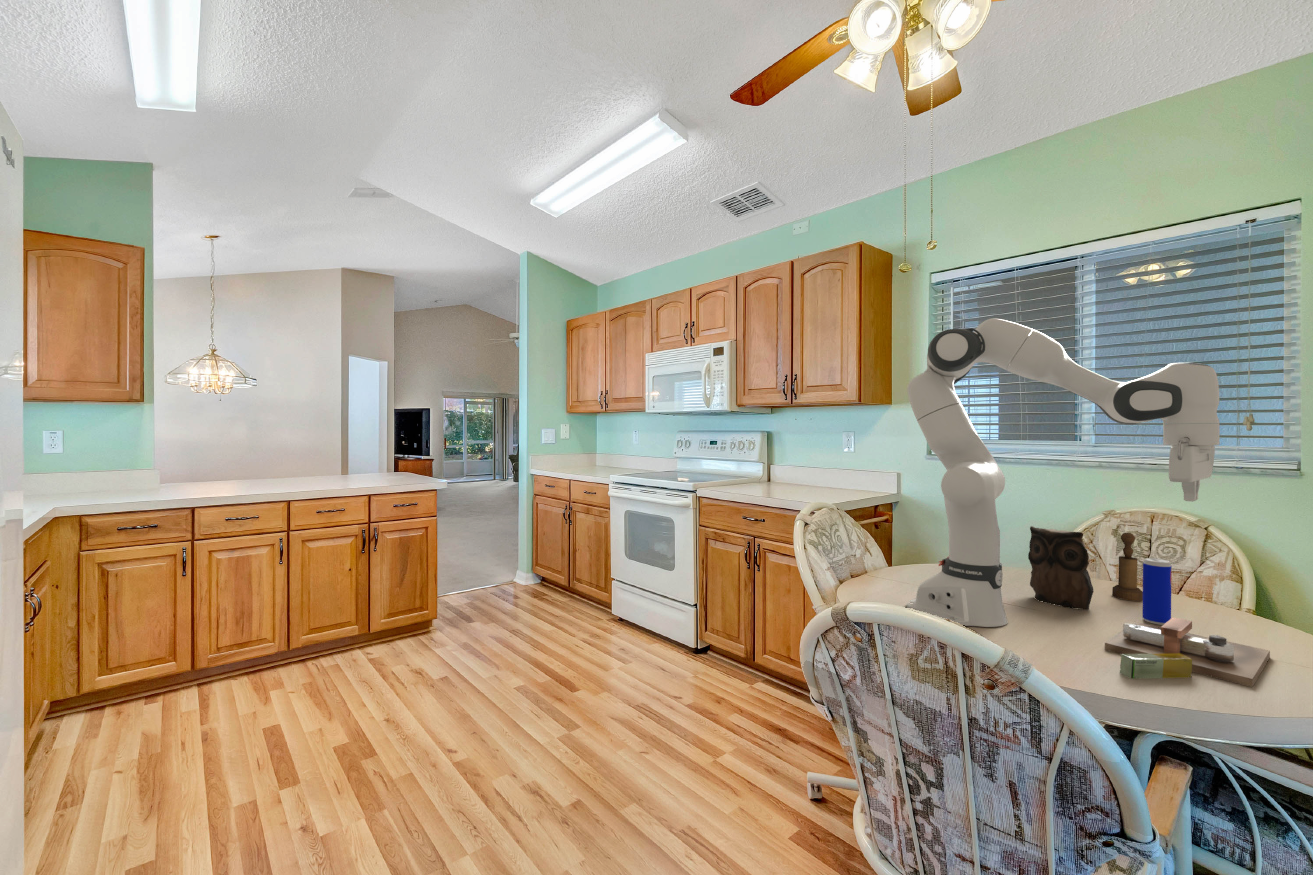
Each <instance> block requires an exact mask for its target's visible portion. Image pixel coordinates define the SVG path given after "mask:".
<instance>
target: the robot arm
mask: <svg viewBox="0 0 1313 875" xmlns="http://www.w3.org/2000/svg"><path fill="white" fill-rule="evenodd" d="M978 363H987V364H991V365H995V366H997V367H998V368H1001V369H1003V370H1005V371H1006V372H1009V373H1010V374H1011V373H1012V374H1014V375H1017V376H1018V377H1019V376H1020V377H1023V378H1026V379H1029V380H1033V381H1037V382H1041V383H1045V384H1050V385H1053V386H1057V387H1059V388H1062V389H1064V390H1066V391H1068V392H1070V393H1073V394H1075V395H1077V396H1079V397H1081V398H1084V399H1085V400H1087V401H1089V402H1091V403H1092V404H1095V405H1096V406H1097V407H1098V408H1099V409H1100V410H1101V411H1102V412H1103V414H1104V415H1105V416H1107V417H1108V419H1109V420H1111V421H1113V422H1115V423H1118V424H1121V425H1127V426H1131V425H1137V424H1142V423H1147V422H1152V421H1154V420H1157V419H1159V420H1162V422H1163V423H1162V424H1163V425H1162V427H1163V428H1162V429H1163V430H1162V431H1163V438H1162V440H1163V442H1162V443H1163V445H1164V446H1170V450H1169V454H1168V456H1169V457H1168V460H1169V461H1168V479H1169V481H1170V483H1171V482H1173V483H1181V488H1182V491H1183V501H1185V502H1195V501H1198V500H1199V490H1200V488H1201V480H1204V479H1208V478H1210V477H1212V473H1213V470H1214V461H1215V453H1216V447H1215V446H1219V445H1220V442H1221V441H1220V419H1219V416H1218V408H1219V404H1220V387H1219V380H1218V379H1219V378H1218V374H1217V372H1216V369H1215V368H1213V367H1212V366H1210V365H1208V364H1205V363H1200V362H1199V363H1198V362H1187V361H1186V362H1173V363H1168V364H1167V365H1166V366H1165V367H1162V368H1161V369H1159V370H1157V371H1155V372H1153V373H1151V374H1148V375H1146V376H1142V377H1139V378H1137V379H1134V380H1130V381H1126V382H1125V381H1117V380H1112V379H1110V378H1107V377H1106V376H1103V375H1100V374H1099V373H1096V372H1095V371H1091V370H1090V369H1087V368H1086V367H1083V366H1081V365H1079V364H1078V363H1077V362H1075V361H1074V360H1072V358H1071V357H1070V356H1069V355H1068V354H1067V352H1066V351H1065V348H1064V347H1063V346H1062V345H1061V343H1059V342H1058V341H1057V340H1055V339H1054V338H1052V337H1050V336H1048V335H1046V334H1045V333H1043V332H1040V331H1038V330H1036V329H1033V328H1031V327H1029V326H1025V325H1022V324H1019V323H1016V322H1013V321H1009V320H1005V319H1001V318H992V317H991V318H988V319H986V320H984V321H982V322H981V323H980V324H978V325H977V327H976V328H974V327H972V328H969V327H968V328H949V329H945V330H942V331H940V332H939V333H937V334H936V335H935V336H934V337H932V339H931V340H930V342H929V344H928V348H927V353H926V366H927V367H926V369H925V371H924V372H922V373H920V374H917V375H915V376H914V377H913V378H912V379H911V380H910V381H909V383H908V384H907V386H906V387H907V388H906V391H907V396H908V400H909V403H910V407H911V409H912V412H913V415H914V416H915V420H916V421H917V423H918V426H919V427H920V429H921V432H922V434H923V436H924V438H925V441H926V442H927V444H928V446H929V448H930V450H931V451H932V452H933V453H934V454H935V455H936V456H937V458H938V459H939V461H940V462H941V463H942V465H943V466H944V468H945V469H946V472H945V473H944V475H943V477H942V478H941V481H940V482H941V483H940V488H941V491H942V492H941V493H942V495H943V499H944V507H945V508H944V509H945V513H946V518H947V525H948V556H947V557H946V558H944V559H941V560H940V561H938V563H939V564H938V567H940V566H941V571H940V572H937V573H936V574H935V575H932V576H931V577H929V578H927V579H926V580H923V581H922V582H921V583H920V584H919V586H918V587H917V591H916V595H915V596H916V597H915V598H912V599H910V600H908V602H910V603H913V604H910V603H908V602H907V603H906V609H907V608H913V609H915V610H919V611H923V612H927V613H930V614H932V615H937V616H939V617H942V618H947V619H949V620H952V621H954V622H958V623H960V624H962V625H965V626H964V627H967V626H968V627H970V626H972V627H985V628H995V627H1003V626H1006V625H1007V623H1008V619H1007V616H1006V612H1005V608H1004V602H1003V596H1002V586H1003V564H1002V563H1001V529H1000V527H999V522H998V515H997V507H996V499H997V498H999V497H1000V496H1001V495H1002V493H1003V491H1004V490H1005V485H1006V478H1005V477H1006V476H1005V475H1004V473H1003V471H1002V469H1001V468H1000V466H999V465H998V463H997V461H996V459H995V458H994V456H993V455H992V454H991V452H990V450H989V449H988V447H987V446H986V444H985V443H984V442H983V440H982V439H981V437H980V436H979V435H978V432H977V431H976V429H975V427H974V426H973V423H972V421H971V419H970V417H969V415H968V413H967V411H966V409H965V408H964V405H963V404H962V401H961V400H960V398H959V396H958V394H957V391H956V389H955V385H956V384H957V383H958V382H959V381H961V380H963V379H964V378H965V377H966V376H967V375H969V373H970V371H971V369H972V367H973V366H974V365H975V364H978ZM1008 624H1009V623H1008Z"/></svg>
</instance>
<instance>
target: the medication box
mask: <svg viewBox="0 0 1313 875" xmlns="http://www.w3.org/2000/svg"><path fill="white" fill-rule="evenodd" d="M1119 666H1120V668H1119V669H1120V670H1119V674H1121V675H1122V676H1124V677H1126V678H1128V679H1177V678H1180V679H1181V678H1182V679H1183V678H1184V679H1185V678H1192V674H1193V672H1192V659H1191V658H1189V657H1187V656H1185V655H1182V654H1180V653H1165V654H1120V664H1119Z"/></svg>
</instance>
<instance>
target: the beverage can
mask: <svg viewBox="0 0 1313 875" xmlns="http://www.w3.org/2000/svg"><path fill="white" fill-rule="evenodd" d="M1172 568H1173V567H1172V564H1171V561H1169V560H1167V559H1163V558H1153V557H1146V558H1144V560H1143V562H1142V591H1143V600H1142V616H1141V618H1142V619H1143V620H1144V621H1145V622H1147V623H1150V624H1152V625H1160V626H1163V625H1164V624H1165V623H1166V622H1168V621H1169V620H1170V619H1171V618H1172Z"/></svg>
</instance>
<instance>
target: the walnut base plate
mask: <svg viewBox="0 0 1313 875" xmlns="http://www.w3.org/2000/svg"><path fill="white" fill-rule="evenodd" d="M1131 624H1135V625H1140V626H1144V627H1149V628H1154V629H1158V630H1161V634H1162V635H1164V647H1163V646H1158V645H1154V644H1150V643H1145V642H1141V641H1137V640H1132V639H1128V638H1125V637H1124V636H1123V629H1122V630H1121V631H1119V632H1118V633H1117V634H1115V635H1113V636H1112V637H1111V638H1110V639H1108V640H1107V641H1105V642H1104V651H1108V652H1113V653H1116V654H1119V655H1121V654H1165V653H1180V654H1182V655H1185V656H1187V657H1189V658H1191V659H1192V673H1194V674H1198V675H1203V676H1206V677H1211V678H1215V679H1220V680H1223V681H1225V682H1231V683H1234V684H1238V685H1242V686H1247V687H1251V688H1253V686H1254V685H1255V683H1256V681H1258V679H1259V677H1260V675H1261V673H1262V672H1261V671H1263V670H1264V668H1265V667H1264V666H1266V665H1267V664H1268V662H1267V661H1269V660H1270V659H1271V651H1270V649H1264V648H1261V647H1260V648H1259V647H1255V646H1251V645H1246V644H1241V643H1236V642H1233V641H1232V642H1231V641H1229V640H1228V638H1226V637H1223V636H1220V635H1209V637H1208V636H1203V635H1199V634H1194V633H1189V632H1190V631H1192V629H1193V621H1192V620H1187V619H1183V618H1178V617H1174V616H1173V617H1171V619H1170V620H1169V621H1168V622H1166V623H1165V624H1164V625H1160V626H1157V625H1154V624H1148V623H1142V622H1139V621H1138V622H1137V621H1134V622H1132V623H1131ZM1184 635H1187V636H1192V637H1196V638H1201V639H1206V640H1209V642H1211V643H1214V644H1219V645H1226V643H1227V644H1230V645H1232V646H1233V647H1234V661H1220V660H1215V659H1211V658H1208V657H1206V656H1202V655H1198V654H1193V653H1189V652H1185V651H1180V639H1181V638H1182V637H1183V636H1184ZM1227 640H1228V641H1227ZM1258 676H1259V677H1258Z"/></svg>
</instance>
